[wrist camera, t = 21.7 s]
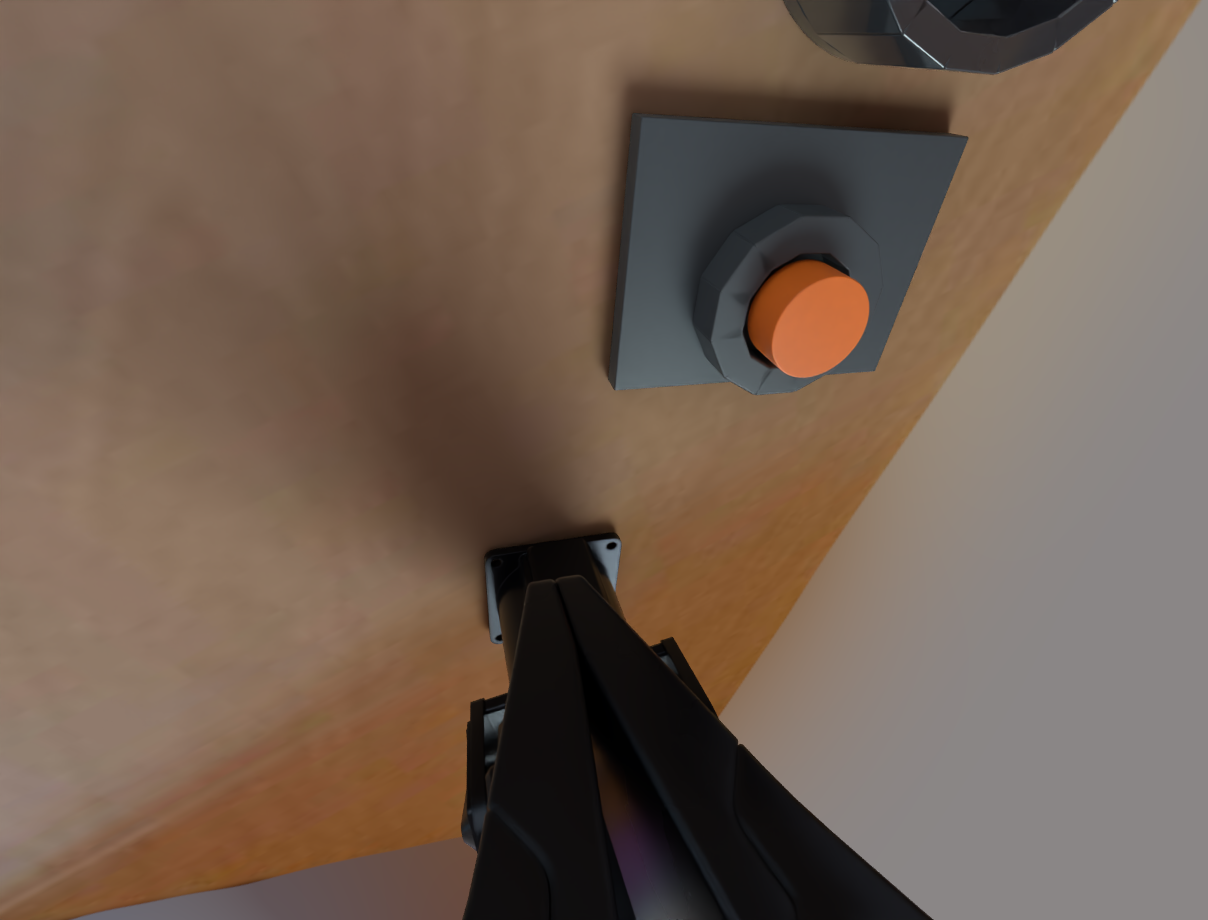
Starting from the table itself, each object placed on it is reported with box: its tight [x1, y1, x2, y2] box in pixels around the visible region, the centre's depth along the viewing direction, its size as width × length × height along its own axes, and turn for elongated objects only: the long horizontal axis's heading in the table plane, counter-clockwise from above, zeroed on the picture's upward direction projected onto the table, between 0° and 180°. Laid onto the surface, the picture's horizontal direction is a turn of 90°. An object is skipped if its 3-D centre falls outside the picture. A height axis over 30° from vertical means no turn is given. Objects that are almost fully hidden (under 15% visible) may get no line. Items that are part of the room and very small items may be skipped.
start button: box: [748, 259, 869, 378], centre depth 19 cm, size 4×4×2 cm
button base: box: [608, 113, 968, 395], centre depth 20 cm, size 9×12×2 cm
